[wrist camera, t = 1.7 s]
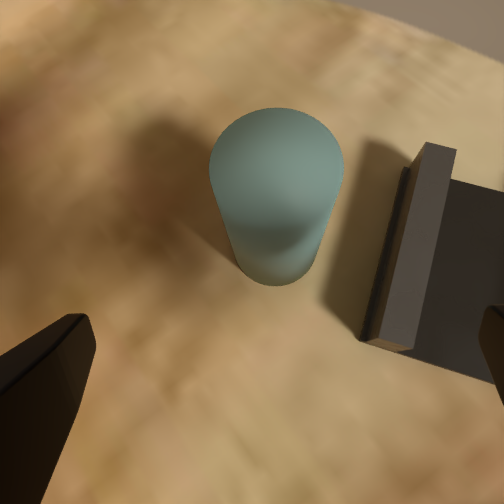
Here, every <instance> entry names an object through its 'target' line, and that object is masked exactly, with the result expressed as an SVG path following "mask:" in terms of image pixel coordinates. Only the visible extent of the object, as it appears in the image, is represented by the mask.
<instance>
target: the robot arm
mask: <svg viewBox="0 0 504 504" xmlns="http://www.w3.org/2000/svg"><path fill="white" fill-rule="evenodd" d="M478 342H479V345H480V348H481V350H482V353H483V356H484V358H485V361H486V363H487V366H488V368H489V371H490V373H491V376H492V378H493V381H494V383H495V386H496V388H497V391H498V394H499V396H500V398H501V401H502V403H503V405H504V304H490V305H488V306H487V307H486V308H485V311H484V314H483V318H482V321H481V325H480V328H479V332H478ZM95 351H96V340H95V336H94V333H93V330H92V326H91V323H90V320H89V317H88V316H87V315H86V314H84V313H75V314H67V315H65V316H64V317H62V318H60V319H59V320H57V321H56V322H54V323H52V324H51V325H49V326H48V327H46V328H44V329H43V330H41V331H40V332H38V333H36V334H35V335H33V336H32V337H30V338H28V339H27V340H25V341H24V342H22V343H20V344H19V345H17V346H16V347H14V348H12V349H11V350H9V351H8V352H6V353H4V354H3V355H1V356H0V504H41V501H42V499H43V496H44V494H45V491H46V489H47V487H48V484H49V482H50V479H51V477H52V474H53V472H54V469H55V467H56V465H57V462H58V460H59V457H60V455H61V452H62V450H63V447H64V445H65V443H66V440H67V438H68V435H69V433H70V430H71V428H72V425H73V423H74V420H75V418H76V415H77V413H78V410H79V407H80V404H81V400H82V397H83V393H84V390H85V386H86V383H87V379H88V376H89V372H90V369H91V365H92V362H93V358H94V355H95Z"/></svg>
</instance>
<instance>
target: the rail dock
mask: <svg viewBox="0 0 504 504" xmlns="http://www.w3.org/2000/svg"><path fill="white" fill-rule="evenodd" d="M456 151H457V149H453V148H449V147H445V146H441V145H437V144H433V143H429V142H425V144H424V145H423V147H422V149H421V150H420V152H419V153H418V155H417V156H416V158H415V159H414V161H413V162H412V164H411V165H410V167H409V168H407V167H404V168H403V170H402V174H401V178H400V182H399V186H398V190H397V194H396V197H395V201H394V205H393V209H392V213H391V217H390V221H389V225H388V229H387V233H386V237H385V241H384V245H383V249H382V253H381V257H380V260H379V264H378V268H377V272H376V276H375V280H374V284H373V288H372V292H371V296H370V300H369V304H368V308H367V312H366V316H365V320H364V323H363V327H362V331H361V335H360V339H359V341H360V342H363V343H367V344H370V345H373V346H376V347H379V348H382V349H385V350H388V351H391V352H395V353H398V354H401V355H404V356H407V357H410V358H413V359H416V360H420V361H423V362H426V363H429V364H432V365H435V366H438V367H441V368H444V369H448V370H451V371H454V372H457V373H460V374H463V375H466V376H469V377H473V378H476V379H479V380H482V381H485V382H488V383H491V384H494V385H495V383H494V381H493V378H492V376H491V373H490V371H489V368H488V366H487V363H486V361H485V358H484V356H483V353H482V350H481V348H480V345H479V342H478V332H479V328H480V325H481V321H482V318H483V314H484V311H485V308H486V307H487V306H488V305H490V304H504V192H500V191H496V190H492V189H488V188H485V187H481V186H477V185H473V184H469V183H465V182H461V181H458V180H454V179H450V178H451V174H452V169H453V164H454V160H455V155H456Z"/></svg>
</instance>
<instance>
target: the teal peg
mask: <svg viewBox="0 0 504 504" xmlns="http://www.w3.org/2000/svg"><path fill="white" fill-rule="evenodd" d="M343 174H344V162H343V156H342V152H341V149H340V147H339V144H338V142H337V140H336V139H335V137H334V136H333V134H332V133H331V132H330V131H329V130H328V128H327V127H326V126H324V125H323V124H322V123H321V122H320V121H318V120H317V119H315V118H314V117H312V116H310V115H308V114H306V113H303V112H300V111H297V110H293V109H287V108H267V109H262V110H257V111H254V112H251V113H249V114H246V115H244V116H242V117H240V118H239V119H237V120H236V121H234V122H233V123H232V124H231V125H229V126H228V127H227V128H226V129H225V130H224V131H223V132H222V134H221V135H220V137H219V138H218V140H217V141H216V143H215V145H214V147H213V150H212V152H211V156H210V161H209V177H210V182H211V186H212V189H213V192H214V195H215V198H216V201H217V204H218V207H219V210H220V213H221V216H222V219H223V222H224V225H225V228H226V231H227V234H228V237H229V240H230V243H231V246H232V249H233V252H234V255H235V258H236V261H237V263H238V265H239V267H240V268H241V270H242V271H243V272H244V273H245V274H246V275H247V276H248V277H249V278H251V279H252V280H254V281H256V282H258V283H260V284H263V285H268V286H283V285H287V284H290V283H293V282H295V281H297V280H298V279H300V278H301V277H302V276H304V275H305V274H306V273H307V271H308V270H309V269H310V267H311V266H312V264H313V262H314V259H315V257H316V254H317V251H318V248H319V245H320V243H321V240H322V237H323V234H324V232H325V229H326V226H327V223H328V220H329V218H330V215H331V212H332V209H333V207H334V204H335V201H336V198H337V195H338V193H339V190H340V187H341V184H342V180H343Z"/></svg>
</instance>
